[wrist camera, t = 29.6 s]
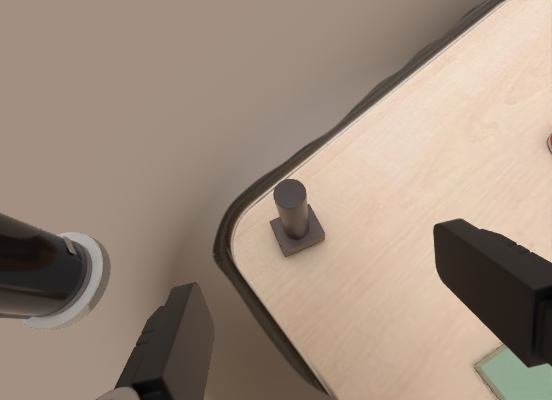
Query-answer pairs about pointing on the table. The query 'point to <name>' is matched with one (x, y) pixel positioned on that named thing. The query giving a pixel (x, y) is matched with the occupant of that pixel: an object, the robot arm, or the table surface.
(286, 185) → the brown peg on base
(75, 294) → the robot arm
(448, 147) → the table surface
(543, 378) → the tile
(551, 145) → the pill bottle
